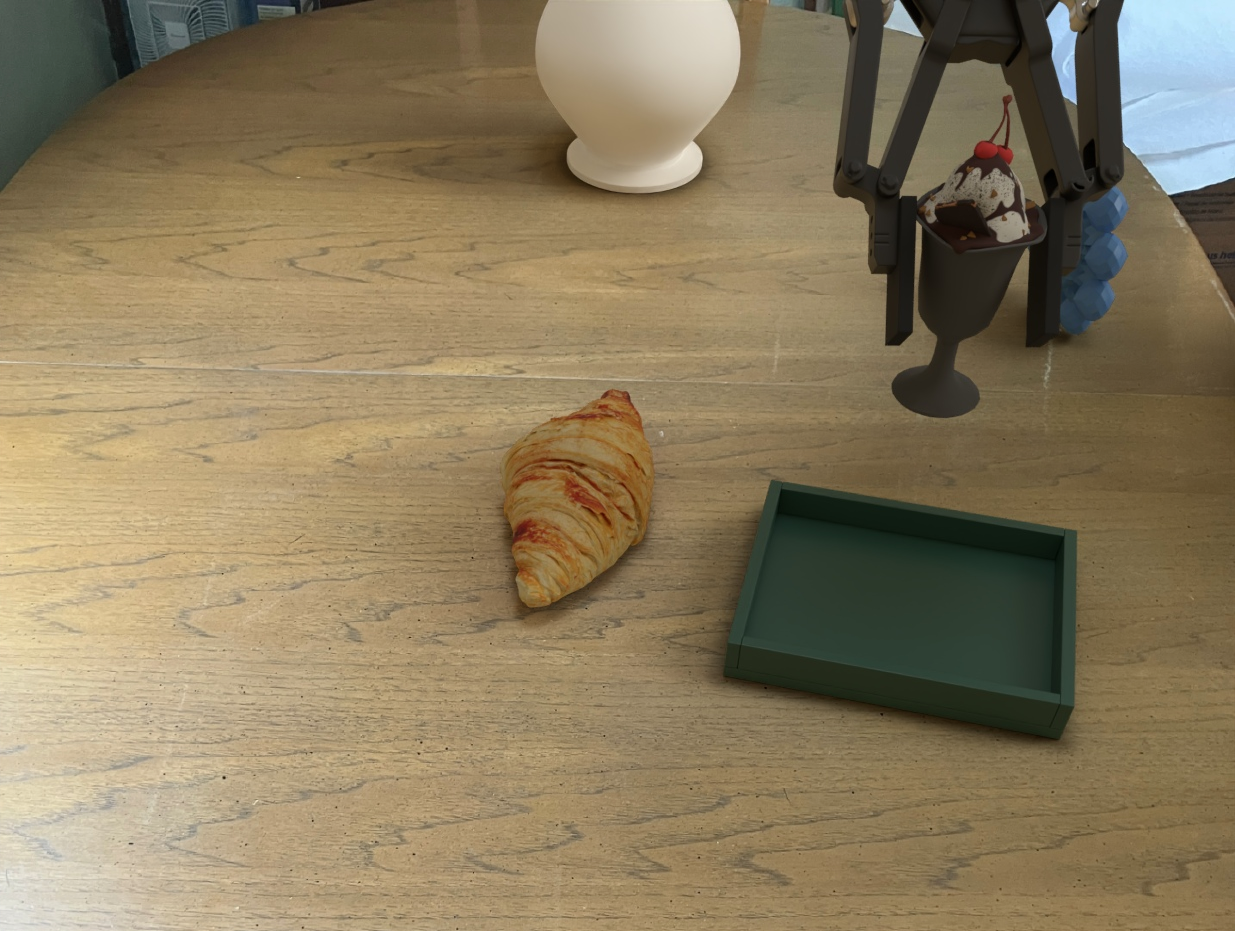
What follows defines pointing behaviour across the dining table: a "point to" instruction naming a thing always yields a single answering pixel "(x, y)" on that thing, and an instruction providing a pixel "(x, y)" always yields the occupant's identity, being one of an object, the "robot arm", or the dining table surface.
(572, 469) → the croissant
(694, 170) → the decorative vase
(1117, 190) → the grapes
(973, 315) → the sundae
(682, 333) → the dining table surface
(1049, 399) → the dining table surface
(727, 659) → the tray
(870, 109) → the robot arm
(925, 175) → the dining table surface
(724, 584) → the dining table surface
